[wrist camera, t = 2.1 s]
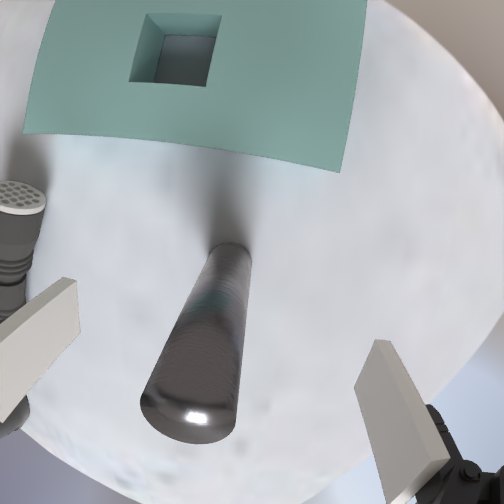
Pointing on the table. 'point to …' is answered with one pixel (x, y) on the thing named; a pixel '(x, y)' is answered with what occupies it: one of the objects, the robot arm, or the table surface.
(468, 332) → the table surface
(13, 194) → the flashlight
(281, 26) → the hole block
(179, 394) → the peg
